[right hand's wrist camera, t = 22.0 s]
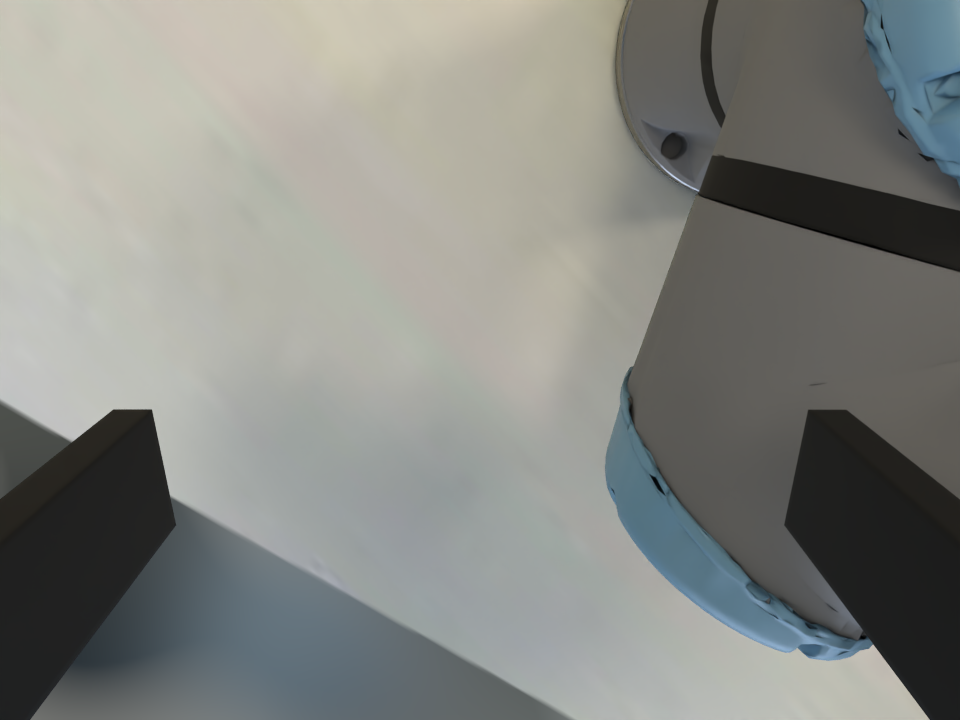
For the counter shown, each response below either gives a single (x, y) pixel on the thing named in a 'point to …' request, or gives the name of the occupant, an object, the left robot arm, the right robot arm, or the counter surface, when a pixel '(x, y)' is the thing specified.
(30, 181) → the counter surface
